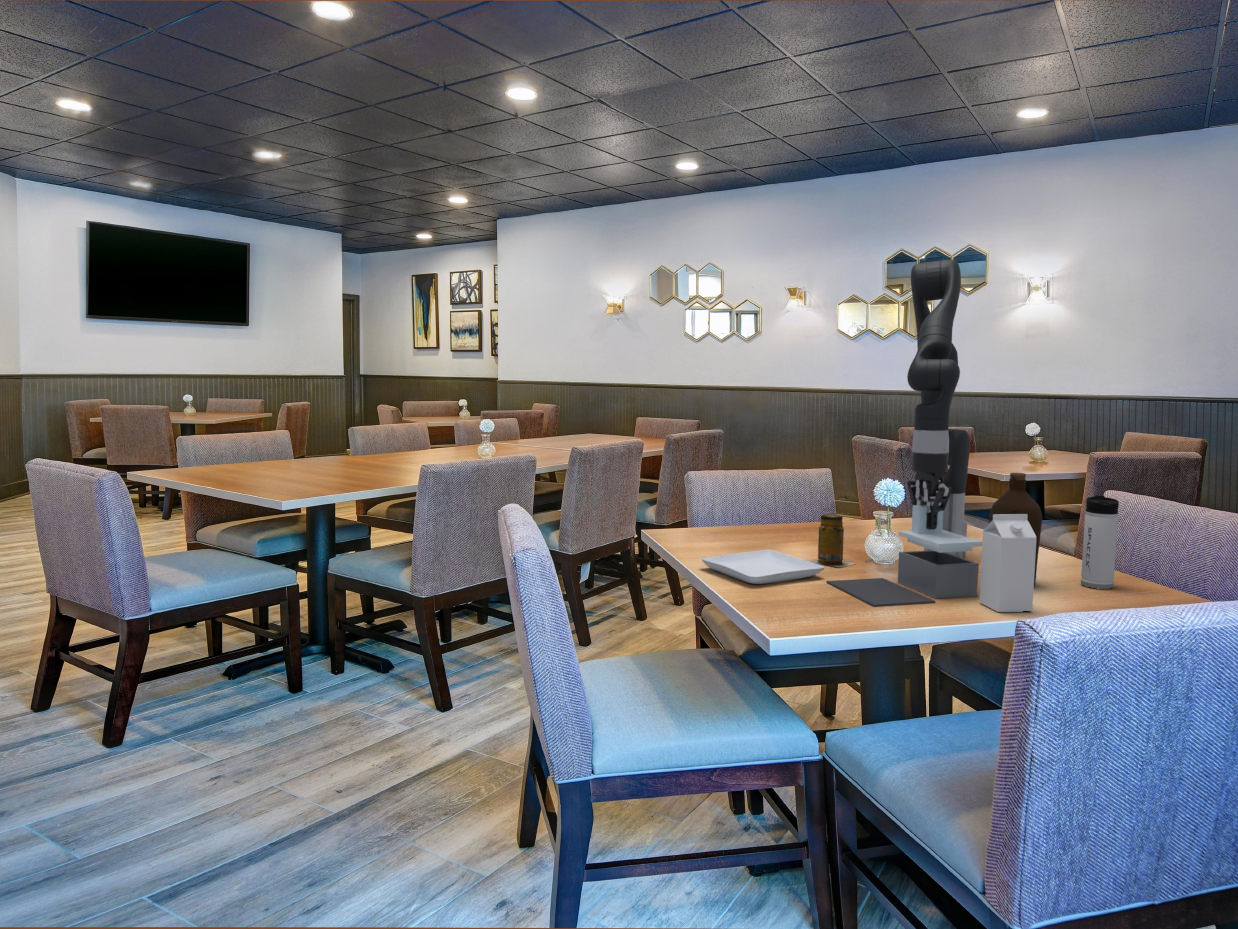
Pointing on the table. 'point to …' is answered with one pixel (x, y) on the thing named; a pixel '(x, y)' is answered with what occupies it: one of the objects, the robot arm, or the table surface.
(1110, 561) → the travel mug
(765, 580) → the salad plate
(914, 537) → the lid
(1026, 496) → the olive oil
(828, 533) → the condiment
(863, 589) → the mat
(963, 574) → the tub
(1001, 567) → the milk carton
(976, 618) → the table surface
